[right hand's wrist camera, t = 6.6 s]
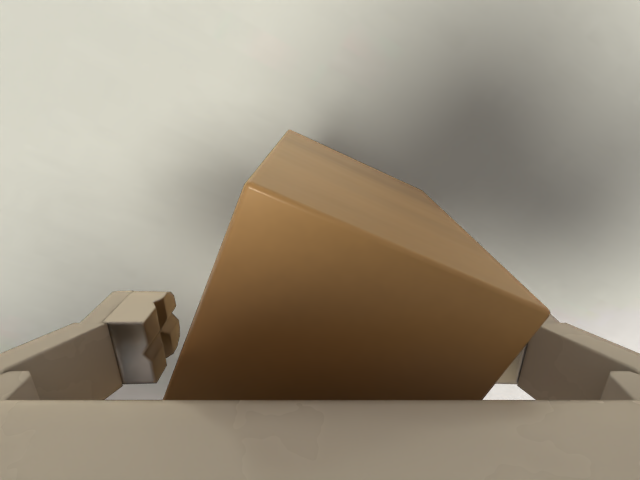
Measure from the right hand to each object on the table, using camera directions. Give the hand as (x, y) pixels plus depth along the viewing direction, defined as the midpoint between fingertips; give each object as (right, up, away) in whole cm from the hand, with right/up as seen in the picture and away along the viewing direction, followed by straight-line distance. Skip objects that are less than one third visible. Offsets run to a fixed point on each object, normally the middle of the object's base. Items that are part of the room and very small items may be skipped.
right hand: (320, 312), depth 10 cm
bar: (-3, -5, +6) cm, 9 cm away
